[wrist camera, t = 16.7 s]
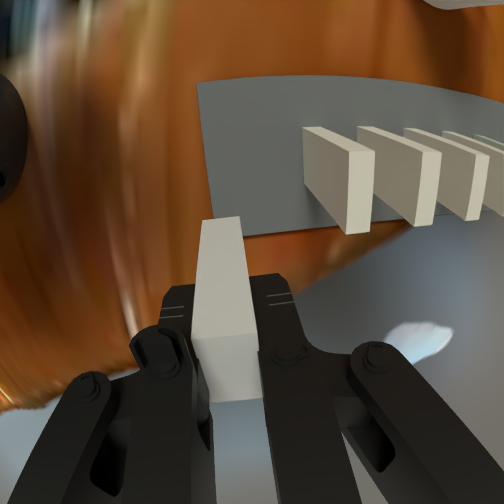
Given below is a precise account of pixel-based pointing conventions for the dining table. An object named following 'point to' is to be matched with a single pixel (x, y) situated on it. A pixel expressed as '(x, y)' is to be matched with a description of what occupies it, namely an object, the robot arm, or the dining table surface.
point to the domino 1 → (340, 177)
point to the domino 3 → (457, 173)
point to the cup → (461, 3)
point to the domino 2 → (404, 174)
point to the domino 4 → (499, 170)
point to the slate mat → (291, 139)
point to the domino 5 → (489, 142)
